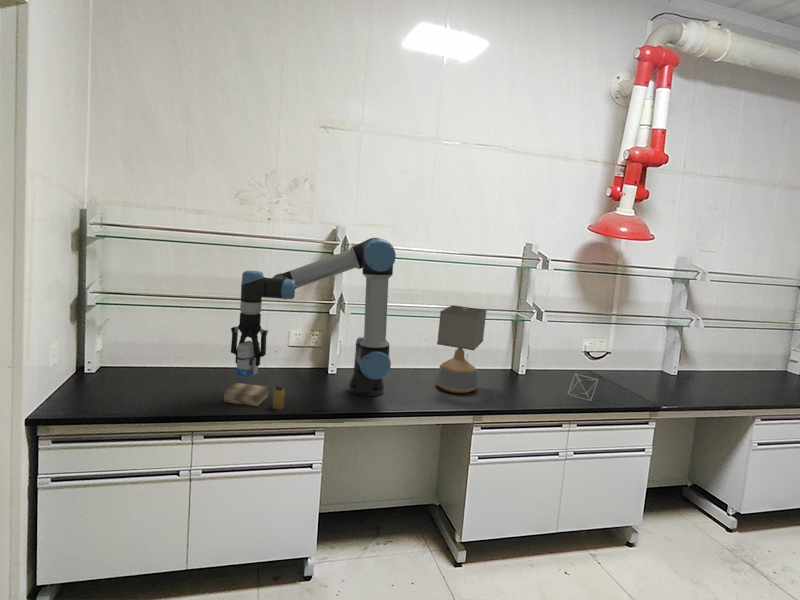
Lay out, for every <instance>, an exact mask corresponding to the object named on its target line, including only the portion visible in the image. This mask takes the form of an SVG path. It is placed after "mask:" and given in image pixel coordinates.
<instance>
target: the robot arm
mask: <svg viewBox="0 0 800 600" xmlns="http://www.w3.org/2000/svg"><path fill="white" fill-rule="evenodd" d="M396 256H397V255H396V251H395V248H394V246H393V245H392V243H390V242H389V241H388V240H386V239H383V238H379V237H372V238H368V239H366V240H364V241H362V242H360V243H357V244H355V245H352V246H350V248H349V250H346V251H343V252H338V253H336V254H334V255H331V256H328V257H326V258H323V259H320V260H317V261H315V262H311V263H308V264H305V265H303V266H300V267H297V268H294V269H292V270H289V271H285V272H282V273H281V272H280V273H276V274H275V275H273V276H272V277H264V272H262V271H258V270H244V272H243V273H242V275H241V277H242V278H241V282H240V283H241V287H240V308H239V310H240V311H239V313H240V314H239V324H238V325H237V326H233V327H231V328H230V330H231V343H230V353H231V354H233V355H235V361H234V362H235V364H237V354H238V345H239V344H240V343H244V342H246V339H247V338H250V340H251V341H252V342H253V346H254V351H255V356H256V357H254V359H253V374H252V375H253V376H254V375H256V374H258V372H257V367H258V368H259V366H260V365H261V358H264V357H265V356H266V355H267V353H266V352H267V336H268V333H269V331H268V330H267V329H264V328H262V326H261V317H262V315H261V312H262V301H263V300H262V299H263V298H265V299H279V300H280V299H281V300H293V299H294V298H295V294H296V291H295V290H296V289H299V288H301V287H304V286H307V285H310V284H313V283H316V282H318V281H323V280H324V279H327V278H330V277H333V276H336V275H339V274H342V273H345V272H348V271H350V270H353V269H357V270H361V269H362V275H363V276H364V277H365V297H364V298H365V299H364V301H365V303H364V325H363V326H364V330H363V331H364V332H363V336H359V337H358V338H356V340H355V341H356V342H355V353H354V366H353V373H352V375H351V378H350V380H349V383H348V392H350V394H353V395H354V396H355V395H356V396H361V397H378V396H379V397H380V396H382V395H384V393H385V385H384V379H383V378H384V377H385V376H387V375H388V374H389V372H390V370H391V366H392V363H391V358H390V342H389V341H388V340H387V325H388V324H387V321H388V320H387V319H388V299H389V296H388V295H389V279H390V278H391V277H392V276H393V274H394V273H393V272H394V264H395V262H396ZM238 332H240V333H241V335H240V338H239V342H238V336H239V333H238ZM259 333H260V336H261V337H260V342H259V335H258V334H259ZM258 342H259V343H258Z"/></svg>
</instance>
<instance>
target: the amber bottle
mask: <svg viewBox="0 0 800 600" xmlns="http://www.w3.org/2000/svg"><path fill="white" fill-rule="evenodd" d="M272 392H273V394H272V409H273V410H282V409H284V408H285V407H284V406H285V388H284V386H283V385H279V384H278V385H276V386H275V387H274V388H273V391H272Z"/></svg>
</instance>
